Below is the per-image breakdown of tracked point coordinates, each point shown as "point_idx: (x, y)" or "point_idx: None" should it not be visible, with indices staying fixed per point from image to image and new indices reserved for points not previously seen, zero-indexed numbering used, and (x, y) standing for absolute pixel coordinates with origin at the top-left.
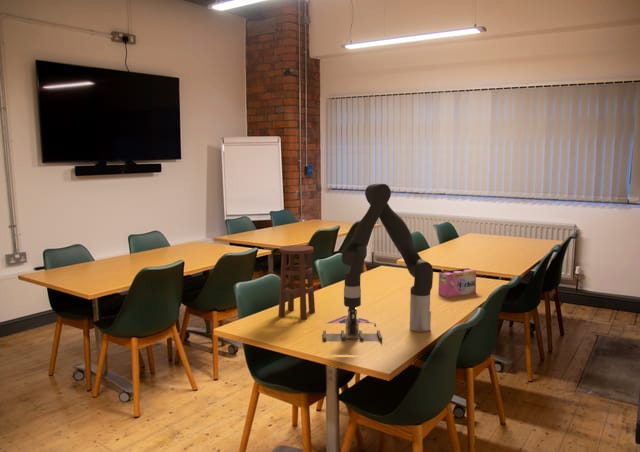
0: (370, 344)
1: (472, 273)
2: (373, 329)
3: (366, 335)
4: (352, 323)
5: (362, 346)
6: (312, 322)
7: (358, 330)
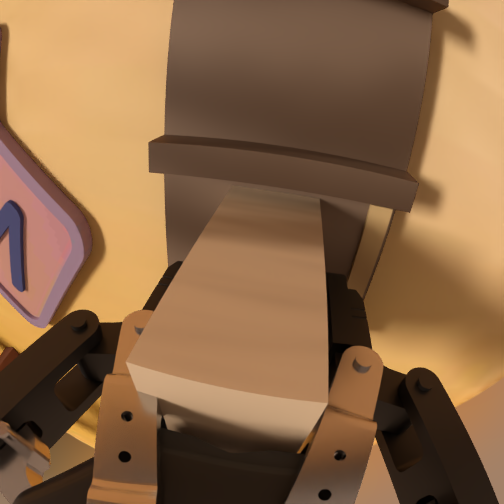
0: (439, 110)
1: None
2: (41, 28)
3: (230, 90)
4: (408, 426)
5: (460, 198)
6: (29, 345)
7: (322, 244)
